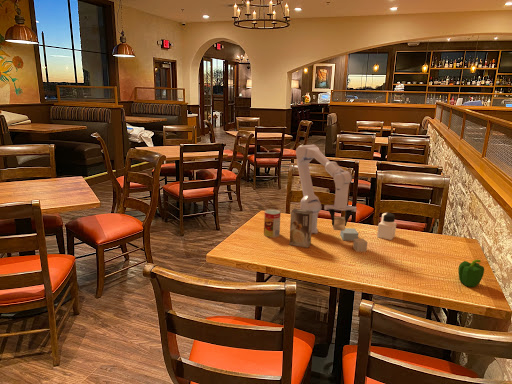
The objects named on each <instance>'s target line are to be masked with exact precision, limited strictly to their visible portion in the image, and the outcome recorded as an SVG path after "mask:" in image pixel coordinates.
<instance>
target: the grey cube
mask: <svg viewBox="0 0 512 384" xmlns="http://www.w3.org/2000/svg"><path fill="white" fill-rule="evenodd" d="M352 245H353V246H352V249H354V251H356V252H357V253H359V252H367V250H368V241H367V240H365V239H364V238H358V239H354V241H353V242H352Z"/></svg>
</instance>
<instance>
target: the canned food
mask: <svg viewBox="0 0 512 384" xmlns="http://www.w3.org/2000/svg"><path fill="white" fill-rule="evenodd" d="M263 217H264V218H263V219H264V220H263V224H264V225H263V235H264V237H267V238H279V237H280V234H281V233H280V232H281V210H278V209H273V208H272V209H271V208H270V209H266V210H264V215H263Z"/></svg>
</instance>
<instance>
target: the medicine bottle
mask: <svg viewBox="0 0 512 384" xmlns="http://www.w3.org/2000/svg"><path fill="white" fill-rule="evenodd" d="M395 219H396V215H395V214H393V213H390V212H384V213H382V214H381V221H380V222H379V223H378V225H377V235H376V237H377V238H380V239H384V240H389V241H393V239H394V238H395V236H396V229H397V222H395Z"/></svg>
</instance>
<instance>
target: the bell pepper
mask: <svg viewBox="0 0 512 384" xmlns="http://www.w3.org/2000/svg"><path fill="white" fill-rule="evenodd" d="M481 262H482V261H481V259H474V260H472V262H469V261H466V260H463V261H462V262H460V264H459V265H458V270H457V271H458V280H459V282H460V283H461V284H463V285H464V286H465V287H468V288H475V287H477V286H478V285H479V284H480V282H481V281H482V279H483V277H484V274H485V267H484V266H482V265H480V264H479V263H481Z"/></svg>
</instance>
